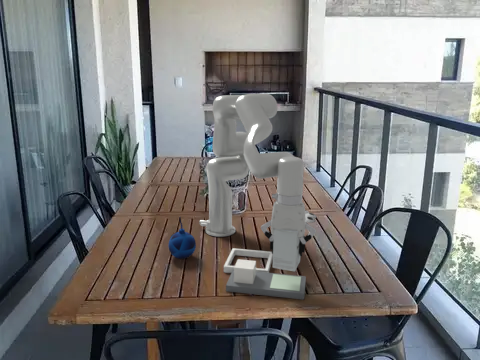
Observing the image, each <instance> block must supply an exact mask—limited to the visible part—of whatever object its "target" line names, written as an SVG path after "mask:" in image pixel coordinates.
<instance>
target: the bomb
mask: <svg viewBox="0 0 480 360" xmlns="http://www.w3.org/2000/svg"><path fill="white" fill-rule="evenodd" d="M178 218H179V223H180V229H179V230H178V231H176V232H174V233H173V234H171V235H170V237H169V240H168V246H167V247H168V250H169V253H170V254H171V255H172V256H173V257H174V258H176V259H180V260H186V259H188V258H190V257H191V256H192V255H193V254H194V253H195V251H196V248H197V243H196V240H195V237H194V236H193V235H192V234H191V233H190V232H187V231H186V230H185V228H183V223H182V220H181V216H179V217H178Z"/></svg>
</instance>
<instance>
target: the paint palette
mask: <svg viewBox="0 0 480 360" xmlns="http://www.w3.org/2000/svg"><path fill="white" fill-rule="evenodd" d="M316 219H317V215H316V214H315V213H312V212H309V211H308V210H307V209H305V222H306V223H307V224H311V223H314V222H316Z"/></svg>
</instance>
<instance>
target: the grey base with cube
mask: <svg viewBox="0 0 480 360" xmlns="http://www.w3.org/2000/svg"><path fill="white" fill-rule="evenodd" d="M234 266H235V267H234V269H233V271H232V273H230V275H229V278H228V280H227V282H226V284H225V291H226V292H231V293H239V294H248V295H249V294H250V295H259V296H266V297H267V296H269V297H274V298H275V297H278V298H287V299H293V300H294V299H297V300H305V295H306V293H305V292H306V280H307V279H306V277H307V276H305V275H298V274H297V275H295V274H286V273H285V274H284V273H275V272H274V273H273V272H269V273H266V272H256V268H257V260H252V259H251V260H250V259H249V260H247V259H239V258H238V259H237V260H236V263H235V264H234Z"/></svg>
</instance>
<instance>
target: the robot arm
mask: <svg viewBox="0 0 480 360" xmlns="http://www.w3.org/2000/svg"><path fill="white" fill-rule="evenodd" d="M277 112H278V102H277V100H276V98H275V97H274V96H273V95H271V94H270V93H248V94H231V95H230V94H228V95H226V94H225V95H219V96H217V97H216V98H215V99H214V100H213V103H212V115H213V119H214V120H213V121H214V126H213V135H212V137H213V138H212V145H211V146H212V153H213V154H214V155H215V156H216V158H215V157H214V158H212V159H210V160H209V161H208V162H207V163H206V166H205V168H206V176H207V183H208V212H209V213H208V219H207V220H204V219H200V220H199V225H200V226H201V227H205V233H206V234H207V235H209V236H212V237H219V238H223V237H229V236H232V235H234V234H235V233H236V227H235V226H234V225H232V224H233V191H232V188H231V186H229V184H228V183H227V181H234V180H236V181H237V180H241V179H244V178H246V177H247V176H248V174H249V171H250V172H251V174H252V175H253V176H254V177H255V178H257V179H268V178H269V179H271V178H277V180H276V181H277V182H276V184H277V185H276V193H271V198H272V199H275V201H274V202H273V205H272V211H271V218H270V219H271V220H269V221H266V222H264V223H263V224H262V225H261V226H260V229H261V231H262V232H263V235H264V236H265V237H267V239H268V240H269V250H270V251H271V252H272V254H273V242H274V229H279V230H292V231H298V232H299V234H298V238H299V239H300V240H301V242H300V257H303V254H304V253H305V252H306V251H305V250H306V244H307V243H308V242H309V241H310V240H312V238H313V237H314V236H315V234H316V233H317V230H316V228H314V226H311V224H310V223H307V222H305V210H306V208H305V203H304V202H303V189H304V172H305V171H304V170H305V163H304V160H303V159H302V158H300V157H297V156H295V155H293V154H292V153H291V152H288V151H277V152H265V153H260V152H259V151H258V148H257V146H256V145H258V144H259V143H261V142H262V141H264V140H266V139H267V138H269V136H270V135H271V134H272V131H273V124H272V122H271V121H270V120H271V119H272V118H274V117H276V115H277ZM236 119H237V120H238V119H239V120H240V122H241V124H242V126H243V128H244V130H245V131H237V126H238V125H237V120H236ZM269 227H270V231H269V230H268V228H269ZM306 230H307V231H308V233H307V234H306V235H305V233H306Z"/></svg>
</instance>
